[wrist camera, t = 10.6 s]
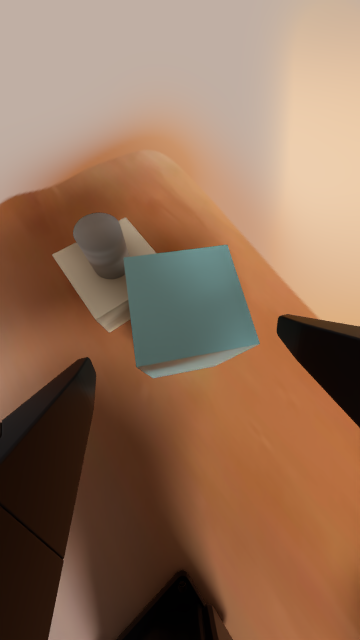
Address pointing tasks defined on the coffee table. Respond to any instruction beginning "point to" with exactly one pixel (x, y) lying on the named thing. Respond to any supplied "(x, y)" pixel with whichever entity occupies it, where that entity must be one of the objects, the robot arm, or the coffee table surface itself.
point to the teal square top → (186, 310)
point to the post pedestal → (102, 265)
